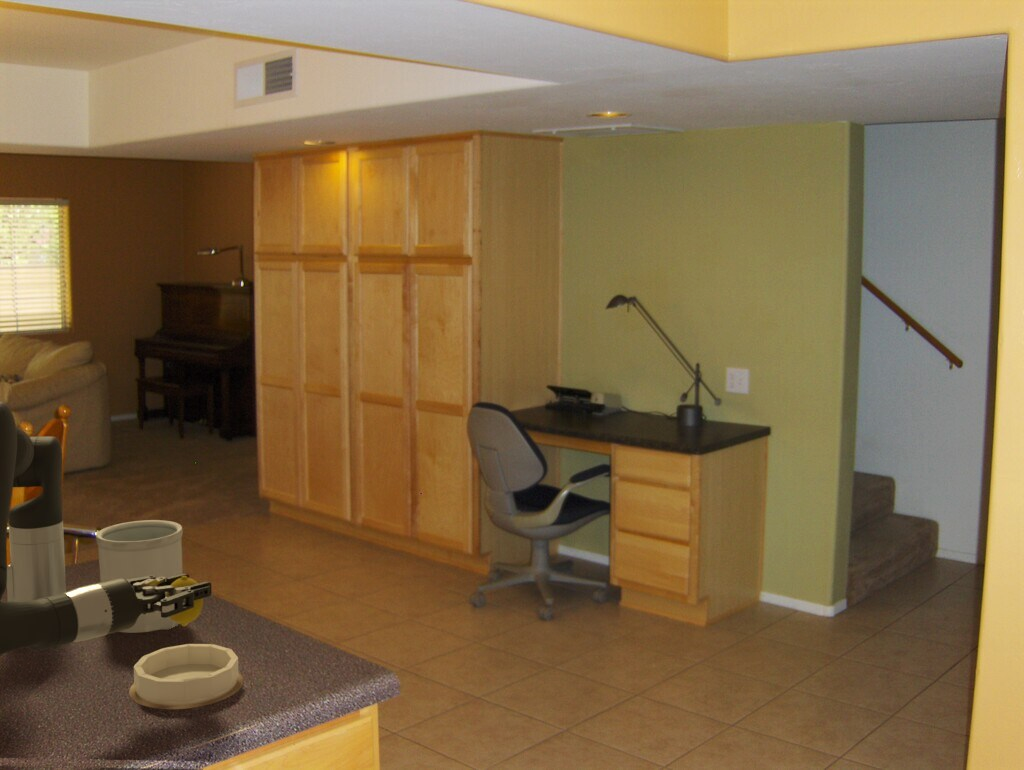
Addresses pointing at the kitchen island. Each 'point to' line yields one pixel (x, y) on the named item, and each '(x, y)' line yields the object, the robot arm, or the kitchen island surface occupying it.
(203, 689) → the bowl
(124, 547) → the utensil holder
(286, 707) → the kitchen island surface
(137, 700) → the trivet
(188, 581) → the lemon
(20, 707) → the kitchen island surface
